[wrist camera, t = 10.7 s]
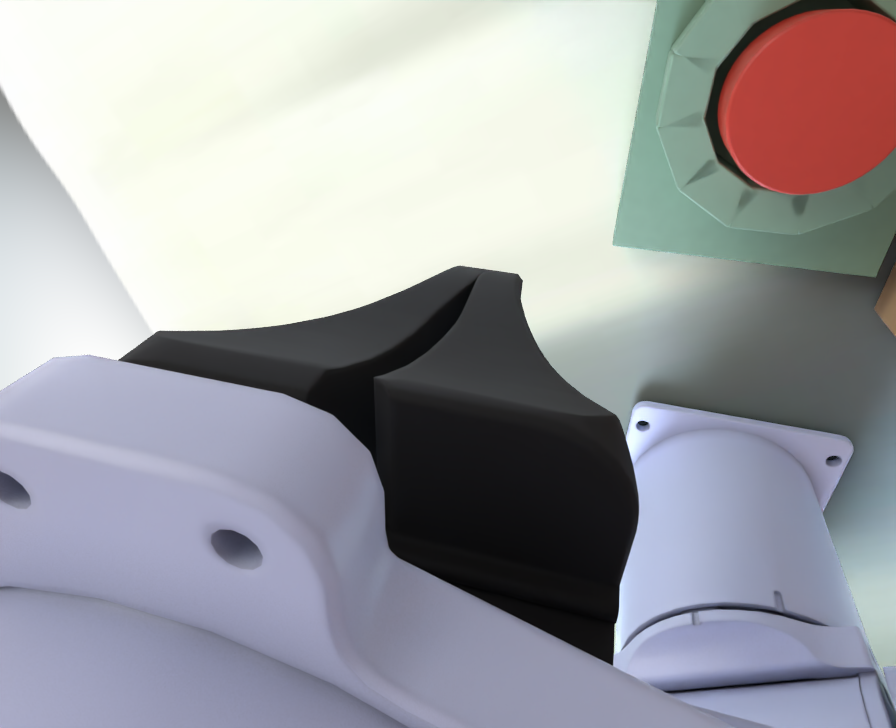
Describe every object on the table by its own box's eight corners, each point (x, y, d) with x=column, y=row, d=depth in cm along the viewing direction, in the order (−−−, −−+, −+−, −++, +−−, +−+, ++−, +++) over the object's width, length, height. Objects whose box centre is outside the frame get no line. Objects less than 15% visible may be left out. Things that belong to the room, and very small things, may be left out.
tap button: (856, 184, 16) (880, 204, 14) (700, 170, 17) (706, 186, 15) (923, 12, 14) (960, 12, 12) (741, 6, 15) (754, 5, 13)
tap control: (864, 264, 19) (897, 301, 17) (613, 235, 21) (609, 264, 18) (1033, -132, 14) (1118, -163, 11) (680, -127, 16) (687, -153, 13)
